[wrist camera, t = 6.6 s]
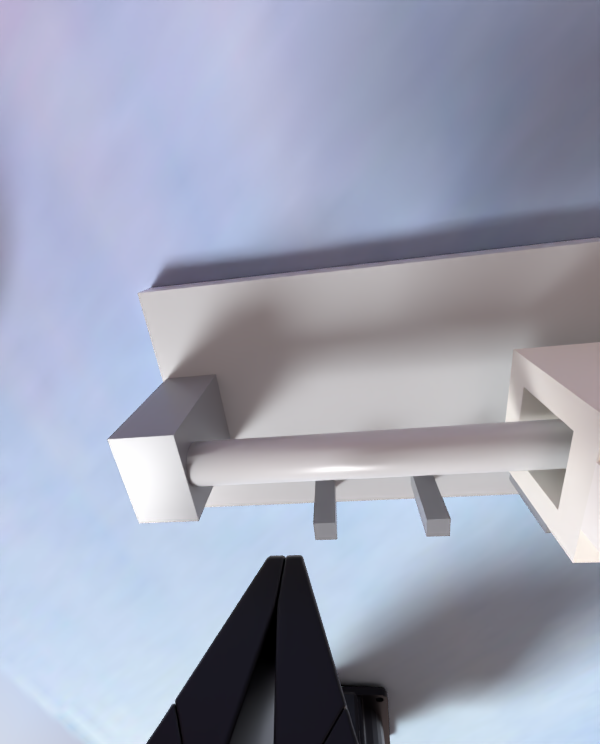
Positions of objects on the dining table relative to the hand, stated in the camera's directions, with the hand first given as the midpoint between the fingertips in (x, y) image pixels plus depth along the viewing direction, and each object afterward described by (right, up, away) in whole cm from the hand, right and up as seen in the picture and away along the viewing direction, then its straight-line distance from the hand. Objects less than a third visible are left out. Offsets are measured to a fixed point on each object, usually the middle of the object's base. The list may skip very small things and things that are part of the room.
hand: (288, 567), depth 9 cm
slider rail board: (+6, +4, +6) cm, 10 cm away
